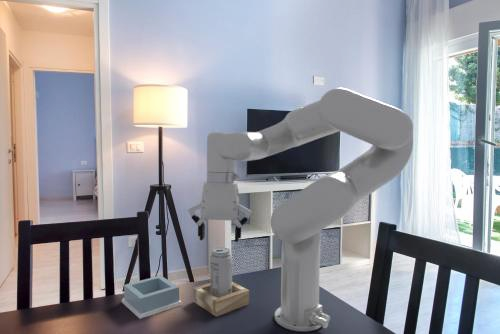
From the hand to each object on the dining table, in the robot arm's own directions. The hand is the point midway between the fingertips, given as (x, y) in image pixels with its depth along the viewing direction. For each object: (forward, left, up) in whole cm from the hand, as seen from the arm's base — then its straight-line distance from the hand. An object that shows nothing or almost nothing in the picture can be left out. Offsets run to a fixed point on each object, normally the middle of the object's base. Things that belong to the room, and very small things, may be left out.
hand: (219, 239), depth 99 cm
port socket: (+12, +15, -18) cm, 26 cm away
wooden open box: (0, 0, -18) cm, 18 cm away
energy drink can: (0, 0, -18) cm, 18 cm away
